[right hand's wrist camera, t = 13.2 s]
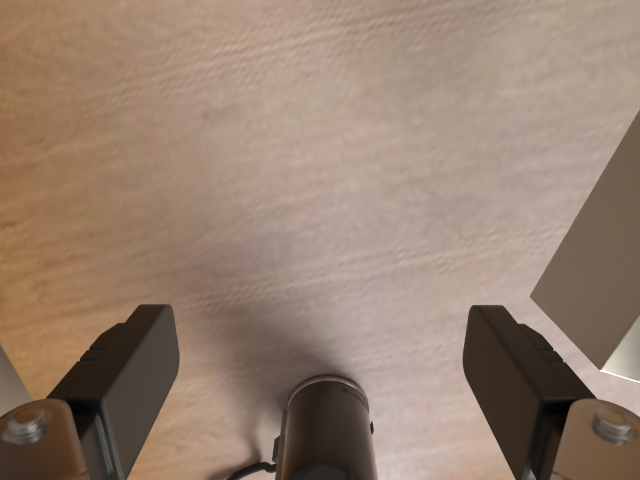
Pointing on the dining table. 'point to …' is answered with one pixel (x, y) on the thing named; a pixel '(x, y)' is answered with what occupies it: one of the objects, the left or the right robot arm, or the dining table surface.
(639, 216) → the bar
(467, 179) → the dining table surface
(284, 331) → the dining table surface
